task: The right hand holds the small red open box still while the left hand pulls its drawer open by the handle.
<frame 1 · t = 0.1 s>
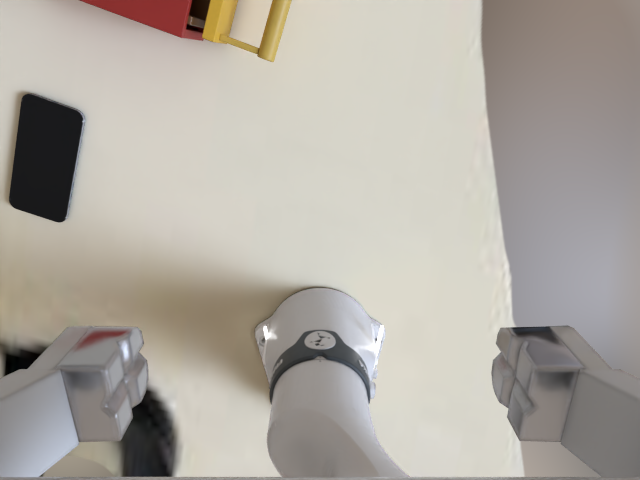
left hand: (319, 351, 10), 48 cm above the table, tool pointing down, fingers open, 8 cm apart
smartphone: (48, 160, 57), on the table
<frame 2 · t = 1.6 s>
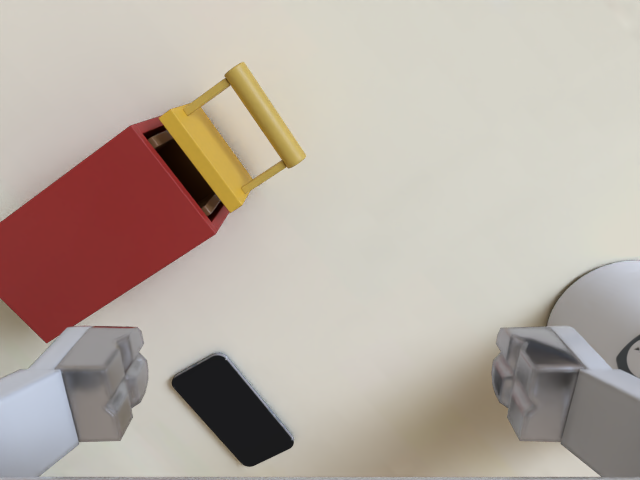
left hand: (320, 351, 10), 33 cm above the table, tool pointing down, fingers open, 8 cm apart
red open box: (129, 210, 44), on the table
drawer: (165, 187, 38), point 4 cm above the table, slide at 1.6 cm
smartphone: (235, 408, 52), on the table
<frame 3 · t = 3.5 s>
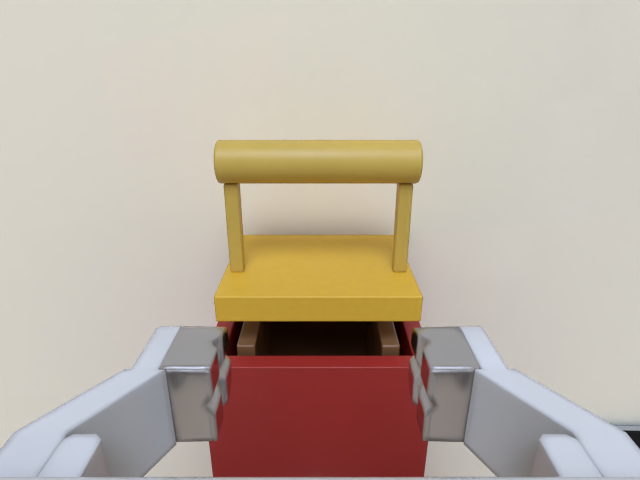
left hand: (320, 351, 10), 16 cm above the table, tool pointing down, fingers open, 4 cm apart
red open box: (318, 396, 30), on the table, touching right hand
drawer: (318, 358, 24), point 4 cm above the table, slide at 1.6 cm
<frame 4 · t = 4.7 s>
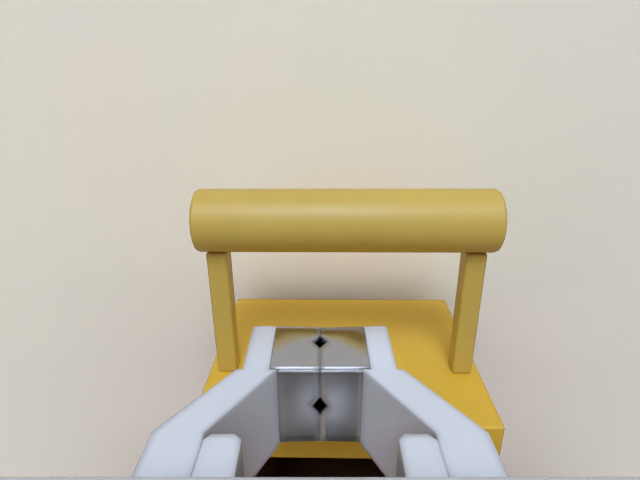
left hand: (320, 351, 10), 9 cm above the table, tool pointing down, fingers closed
drawer: (341, 471, 18), point 4 cm above the table, slide at 1.6 cm
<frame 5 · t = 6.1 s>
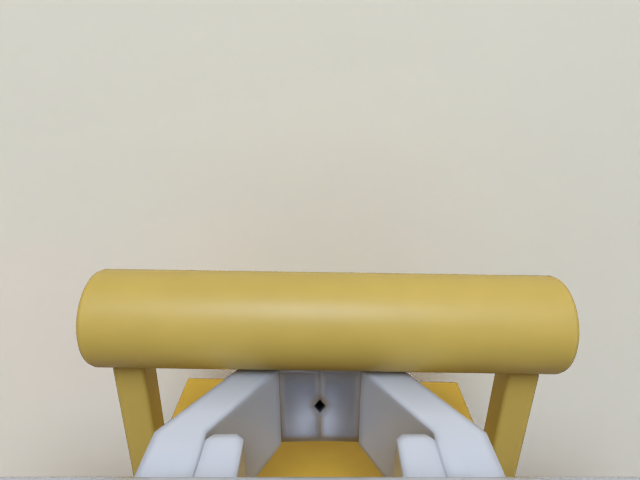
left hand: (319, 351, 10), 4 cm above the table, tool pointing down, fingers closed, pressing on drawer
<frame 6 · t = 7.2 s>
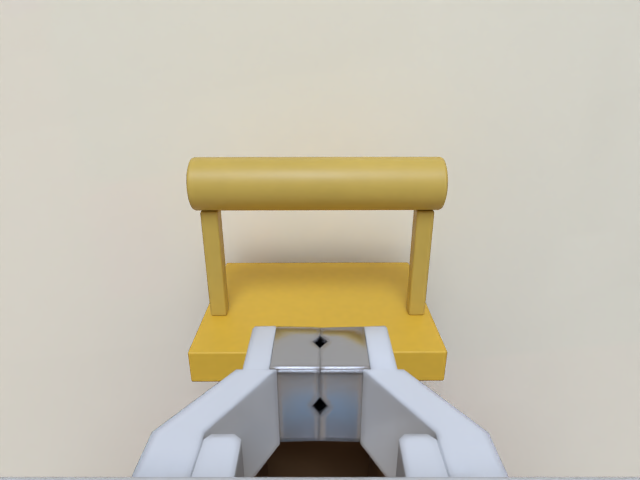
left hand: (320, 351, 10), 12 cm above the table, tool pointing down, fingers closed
drawer: (317, 409, 20), point 4 cm above the table, slide at 7.7 cm
when the right hand's fingers open (4 cm above the table, at t = 8.0 s): red open box stays where it is, on the table.
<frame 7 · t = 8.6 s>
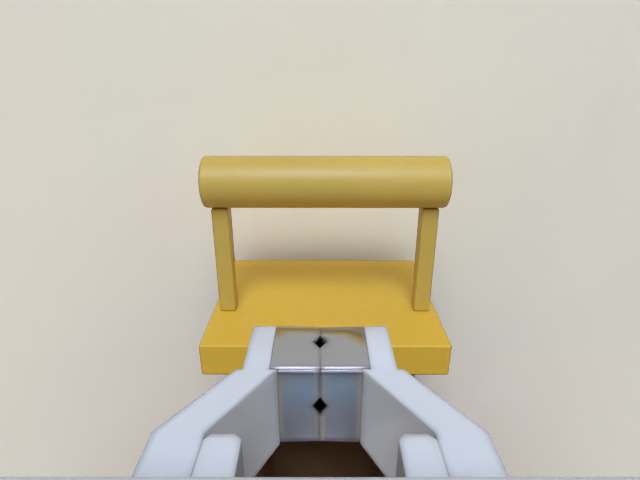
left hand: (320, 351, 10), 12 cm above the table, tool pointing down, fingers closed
drawer: (323, 404, 21), point 4 cm above the table, slide at 7.7 cm
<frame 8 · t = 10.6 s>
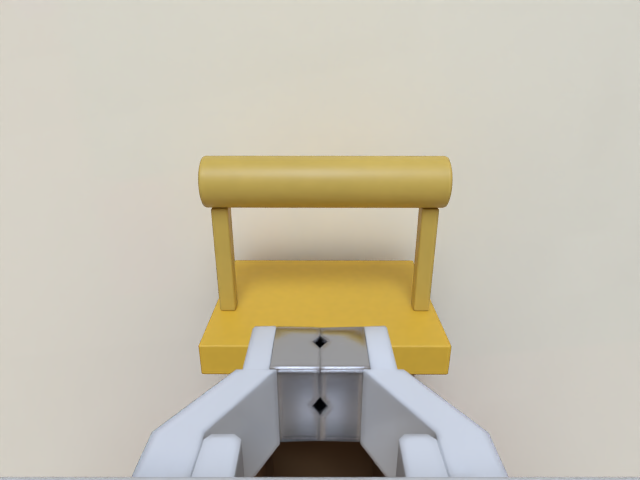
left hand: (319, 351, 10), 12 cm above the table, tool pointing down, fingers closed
drawer: (323, 404, 21), point 4 cm above the table, slide at 7.7 cm
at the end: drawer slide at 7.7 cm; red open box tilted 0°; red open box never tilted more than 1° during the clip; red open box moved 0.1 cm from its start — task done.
